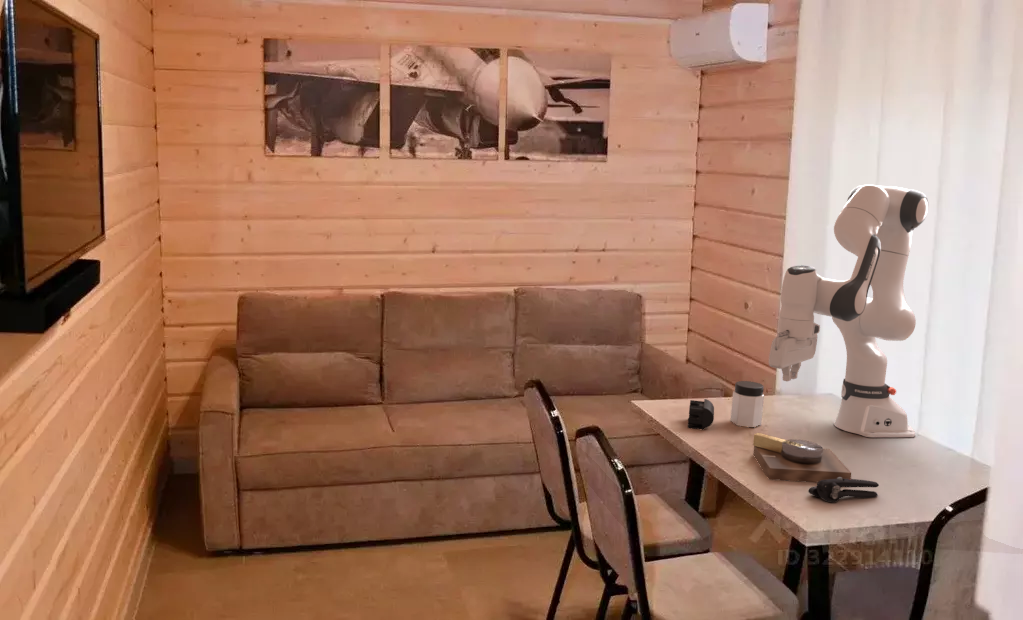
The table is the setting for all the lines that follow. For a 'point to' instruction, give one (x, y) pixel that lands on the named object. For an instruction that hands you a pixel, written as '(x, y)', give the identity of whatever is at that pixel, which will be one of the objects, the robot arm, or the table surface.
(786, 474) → the base
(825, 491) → the can opener
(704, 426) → the end cap
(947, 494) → the table surface
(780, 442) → the small frying pan
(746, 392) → the jar
